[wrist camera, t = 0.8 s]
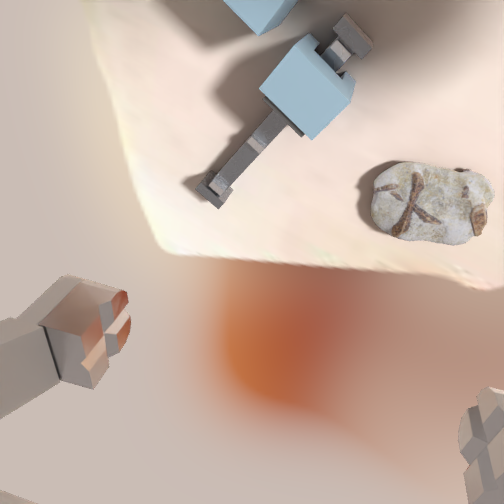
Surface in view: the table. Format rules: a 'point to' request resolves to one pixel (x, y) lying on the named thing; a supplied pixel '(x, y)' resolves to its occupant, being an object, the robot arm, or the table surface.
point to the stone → (431, 203)
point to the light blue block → (261, 12)
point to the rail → (335, 57)
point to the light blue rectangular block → (307, 89)
